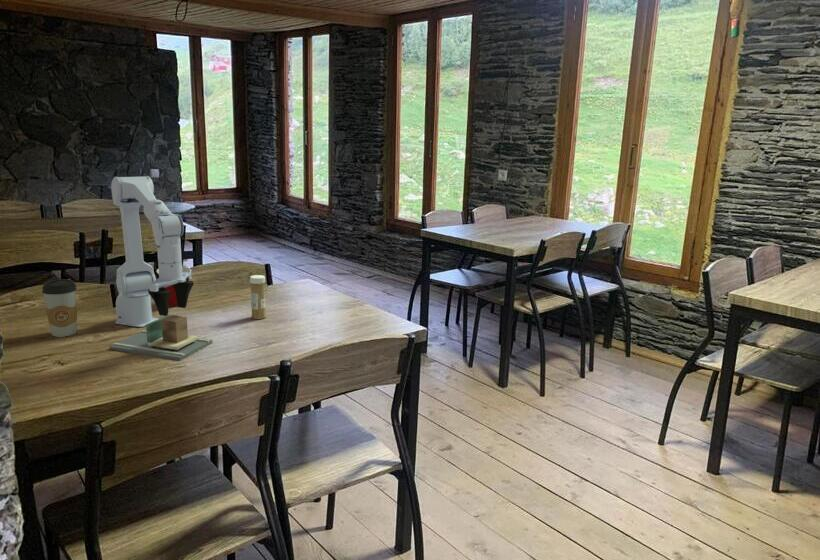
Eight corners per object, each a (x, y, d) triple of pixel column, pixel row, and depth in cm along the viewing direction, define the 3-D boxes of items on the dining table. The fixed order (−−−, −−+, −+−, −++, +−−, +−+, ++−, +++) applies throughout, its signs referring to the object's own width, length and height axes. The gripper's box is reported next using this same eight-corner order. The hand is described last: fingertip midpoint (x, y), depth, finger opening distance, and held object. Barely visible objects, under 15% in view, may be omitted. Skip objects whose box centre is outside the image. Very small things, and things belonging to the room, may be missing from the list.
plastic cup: (168, 311, 195) (165, 274, 192) (152, 303, 202) (150, 268, 199) (199, 304, 203) (197, 270, 200) (183, 297, 210) (181, 264, 207)
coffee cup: (46, 340, 166) (40, 287, 162) (48, 331, 173) (42, 280, 169) (80, 336, 170) (75, 284, 166) (81, 327, 177) (76, 277, 173)
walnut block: (162, 341, 162) (161, 319, 160) (173, 335, 166) (172, 315, 165) (177, 343, 161) (175, 321, 159) (187, 338, 165) (186, 317, 163)
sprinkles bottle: (268, 318, 191) (267, 277, 188) (254, 320, 189) (252, 278, 186) (262, 314, 195) (262, 273, 192) (249, 316, 193) (247, 275, 189)
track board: (109, 349, 161) (109, 344, 161) (145, 332, 174) (145, 328, 174) (180, 360, 156) (180, 356, 155) (212, 342, 169) (212, 338, 168)
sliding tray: (147, 347, 161) (146, 324, 159) (169, 336, 169) (168, 314, 168) (177, 352, 158) (175, 328, 157) (197, 341, 167) (196, 318, 165)
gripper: (164, 268, 150) (168, 320, 154) (200, 257, 164) (202, 305, 167) (140, 265, 152) (144, 317, 155) (177, 255, 166) (180, 302, 169)
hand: (173, 311), depth 161 cm, fingers open, 7 cm apart
